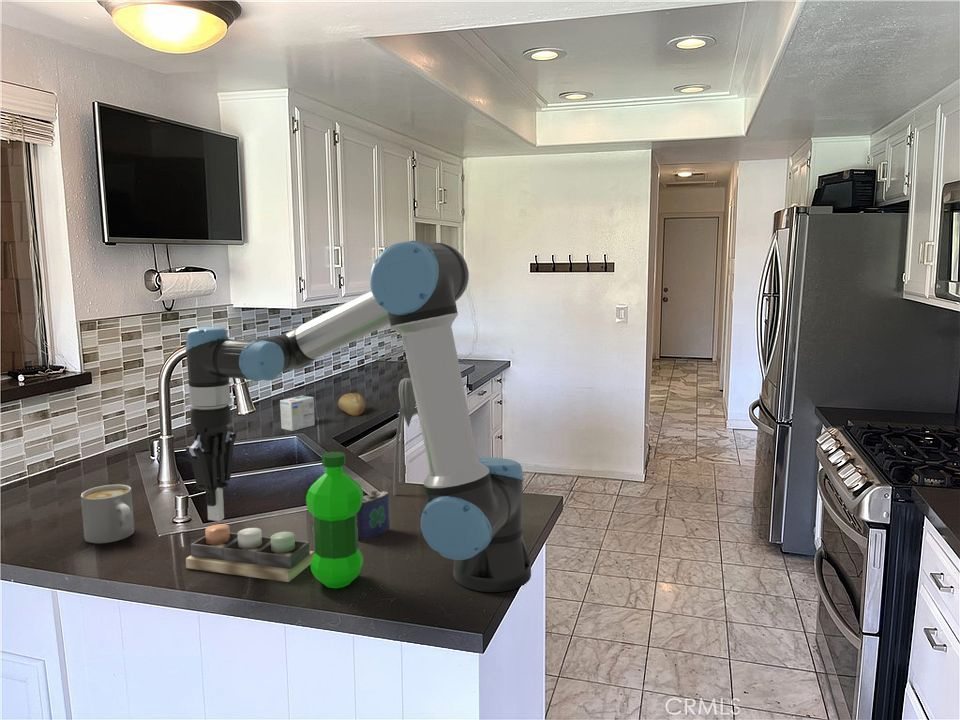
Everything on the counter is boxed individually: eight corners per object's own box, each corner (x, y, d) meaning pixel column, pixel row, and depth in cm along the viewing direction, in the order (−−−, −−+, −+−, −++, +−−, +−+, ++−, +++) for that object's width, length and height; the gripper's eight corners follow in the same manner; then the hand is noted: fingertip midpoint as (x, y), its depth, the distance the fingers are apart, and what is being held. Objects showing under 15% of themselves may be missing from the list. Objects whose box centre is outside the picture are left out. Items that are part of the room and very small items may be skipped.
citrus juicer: (399, 481, 194) (397, 374, 190) (435, 482, 194) (434, 374, 190) (393, 495, 183) (390, 381, 179) (431, 495, 183) (430, 382, 178)
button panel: (314, 560, 144) (313, 539, 143) (288, 582, 134) (287, 559, 133) (217, 548, 150) (216, 528, 149) (186, 568, 140) (184, 546, 140)
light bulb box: (303, 423, 264) (302, 394, 262) (315, 425, 260) (314, 396, 258) (280, 428, 255) (279, 399, 254) (292, 431, 251) (291, 401, 250)
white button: (266, 540, 143) (266, 529, 143) (253, 549, 139) (252, 537, 138) (246, 538, 144) (246, 526, 144) (233, 547, 140) (232, 535, 139)
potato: (355, 408, 290) (354, 389, 289) (370, 415, 277) (370, 395, 276) (333, 411, 284) (332, 391, 283) (348, 418, 272) (347, 397, 271)
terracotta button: (234, 537, 145) (234, 525, 145) (220, 545, 141) (220, 533, 140) (215, 534, 146) (214, 523, 146) (201, 543, 142) (200, 531, 141)
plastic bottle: (326, 567, 140) (321, 445, 137) (374, 574, 137) (371, 450, 134) (299, 590, 131) (293, 459, 127) (350, 597, 128) (346, 464, 124)
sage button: (299, 544, 141) (299, 532, 141) (287, 554, 136) (286, 541, 136) (279, 542, 142) (278, 530, 142) (266, 551, 138) (265, 539, 137)
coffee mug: (78, 534, 158) (74, 491, 156) (125, 522, 165) (122, 481, 163) (97, 552, 148) (93, 506, 147) (146, 538, 155) (143, 495, 154)
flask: (384, 527, 161) (383, 482, 160) (393, 530, 159) (392, 485, 158) (354, 540, 154) (353, 493, 152) (364, 544, 152) (362, 496, 151)
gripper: (214, 397, 147) (220, 506, 150) (171, 410, 134) (178, 528, 138) (246, 400, 145) (250, 510, 148) (205, 413, 132) (211, 533, 136)
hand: (216, 519), depth 143 cm, fingers closed
